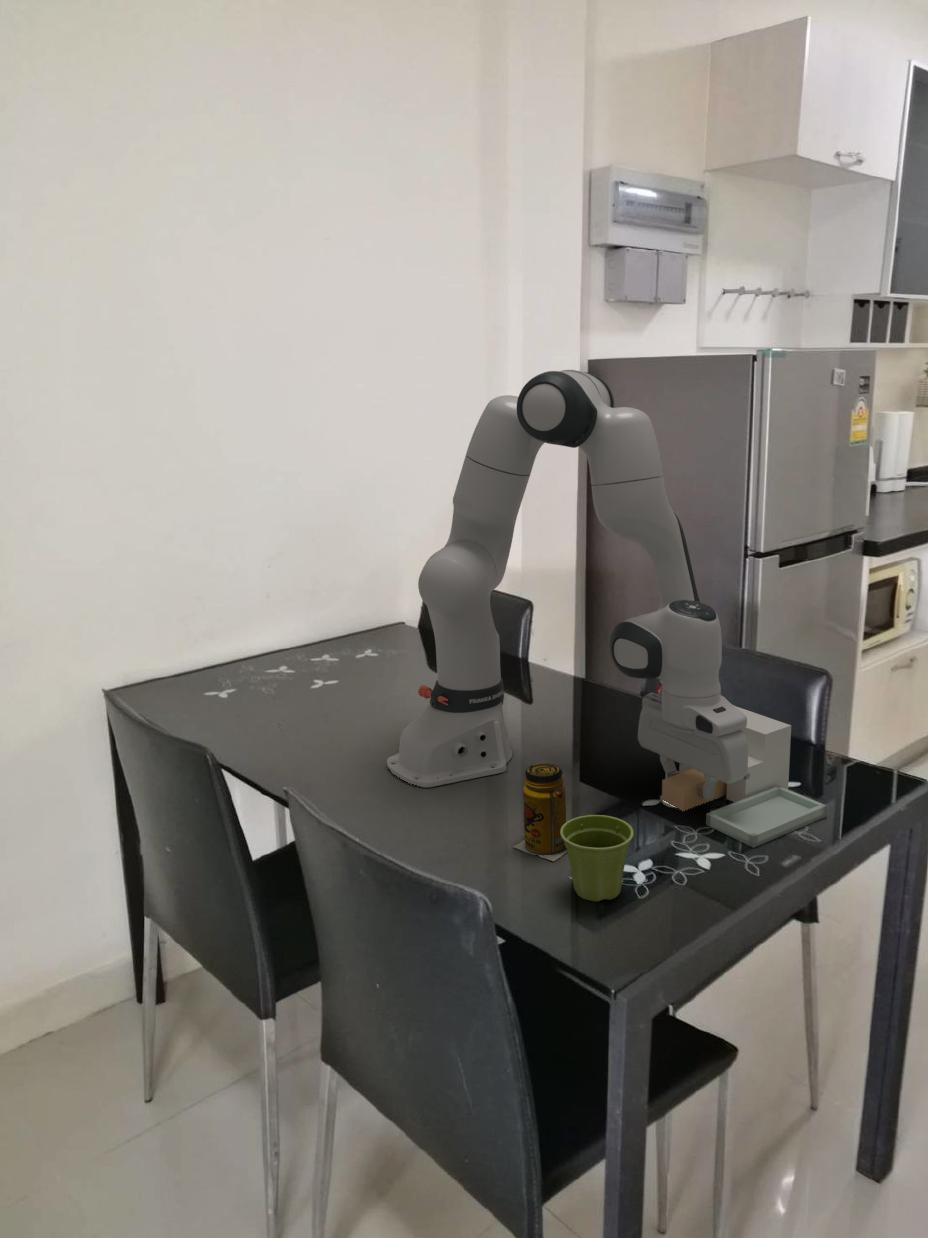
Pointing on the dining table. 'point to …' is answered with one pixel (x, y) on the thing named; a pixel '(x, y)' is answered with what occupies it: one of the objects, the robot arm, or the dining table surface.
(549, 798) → the condiment
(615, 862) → the plant pot
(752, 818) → the tray
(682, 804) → the brown shipping carton
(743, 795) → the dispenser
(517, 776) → the dining table surface
